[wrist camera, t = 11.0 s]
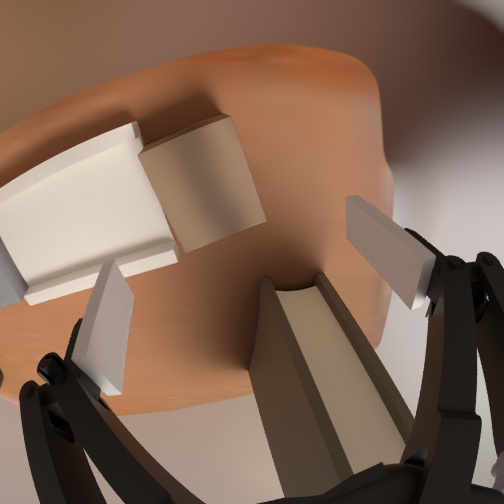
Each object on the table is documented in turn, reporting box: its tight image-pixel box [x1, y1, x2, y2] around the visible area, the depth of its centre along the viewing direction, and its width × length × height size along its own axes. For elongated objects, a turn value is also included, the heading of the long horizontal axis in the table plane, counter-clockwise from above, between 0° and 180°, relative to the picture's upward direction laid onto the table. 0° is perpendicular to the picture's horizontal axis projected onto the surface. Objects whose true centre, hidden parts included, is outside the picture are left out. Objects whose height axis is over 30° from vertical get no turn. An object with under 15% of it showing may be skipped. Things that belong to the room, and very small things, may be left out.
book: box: [248, 274, 415, 498], centre depth 32 cm, size 22×9×28 cm, turn 176°
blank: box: [137, 113, 267, 253], centre depth 25 cm, size 8×10×6 cm
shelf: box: [0, 121, 178, 306], centre depth 25 cm, size 22×15×3 cm
